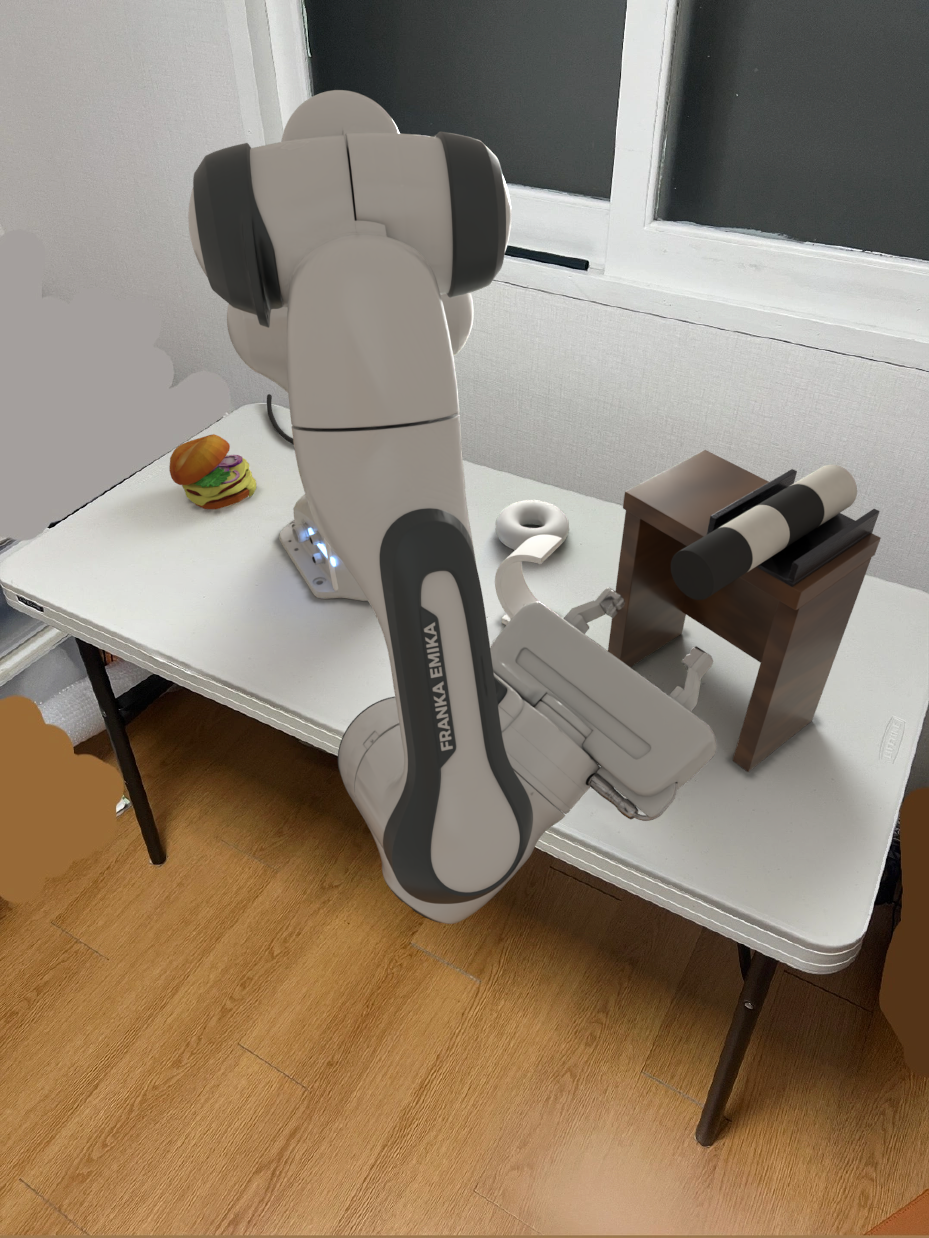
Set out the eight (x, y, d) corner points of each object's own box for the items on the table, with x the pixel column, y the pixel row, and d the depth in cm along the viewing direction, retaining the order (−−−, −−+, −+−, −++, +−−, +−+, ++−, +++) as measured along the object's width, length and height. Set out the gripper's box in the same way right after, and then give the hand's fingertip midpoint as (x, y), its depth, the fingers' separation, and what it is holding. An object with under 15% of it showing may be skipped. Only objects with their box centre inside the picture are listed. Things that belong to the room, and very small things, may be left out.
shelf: (602, 668, 102) (624, 491, 86) (672, 623, 108) (705, 449, 92) (745, 774, 90) (801, 592, 74) (815, 718, 96) (881, 537, 80)
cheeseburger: (252, 513, 126) (222, 454, 119) (184, 528, 128) (150, 471, 121) (265, 473, 133) (237, 416, 127) (200, 488, 135) (169, 432, 129)
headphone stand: (536, 639, 106) (540, 558, 98) (494, 619, 108) (495, 540, 101) (556, 617, 109) (562, 537, 101) (514, 599, 111) (517, 520, 103)
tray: (705, 537, 80) (710, 515, 79) (786, 489, 86) (792, 468, 84) (792, 587, 75) (798, 565, 73) (872, 533, 80) (880, 511, 79)
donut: (489, 555, 118) (564, 562, 117) (488, 534, 116) (565, 541, 114) (501, 512, 126) (572, 518, 124) (501, 492, 123) (573, 498, 122)
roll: (708, 609, 72) (717, 566, 69) (667, 583, 75) (674, 541, 72) (850, 517, 82) (863, 476, 79) (808, 497, 84) (820, 456, 81)
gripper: (634, 823, 63) (759, 677, 64) (454, 667, 75) (562, 546, 76) (654, 843, 68) (770, 708, 69) (483, 694, 80) (583, 581, 81)
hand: (659, 622), depth 73 cm, fingers open, 8 cm apart
